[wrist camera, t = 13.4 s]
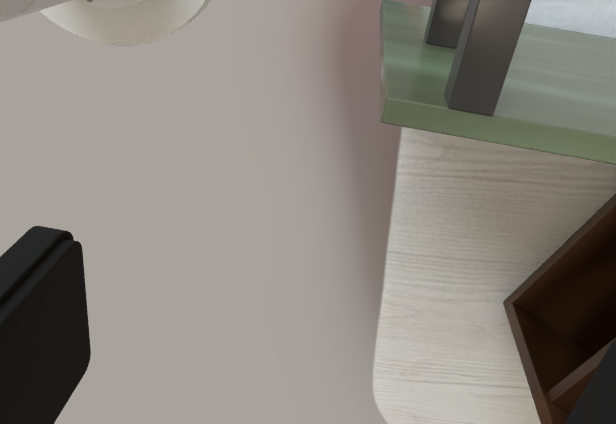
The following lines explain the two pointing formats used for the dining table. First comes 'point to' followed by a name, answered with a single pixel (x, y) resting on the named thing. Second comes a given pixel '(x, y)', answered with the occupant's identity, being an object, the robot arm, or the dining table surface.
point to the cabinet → (567, 316)
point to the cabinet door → (497, 77)
